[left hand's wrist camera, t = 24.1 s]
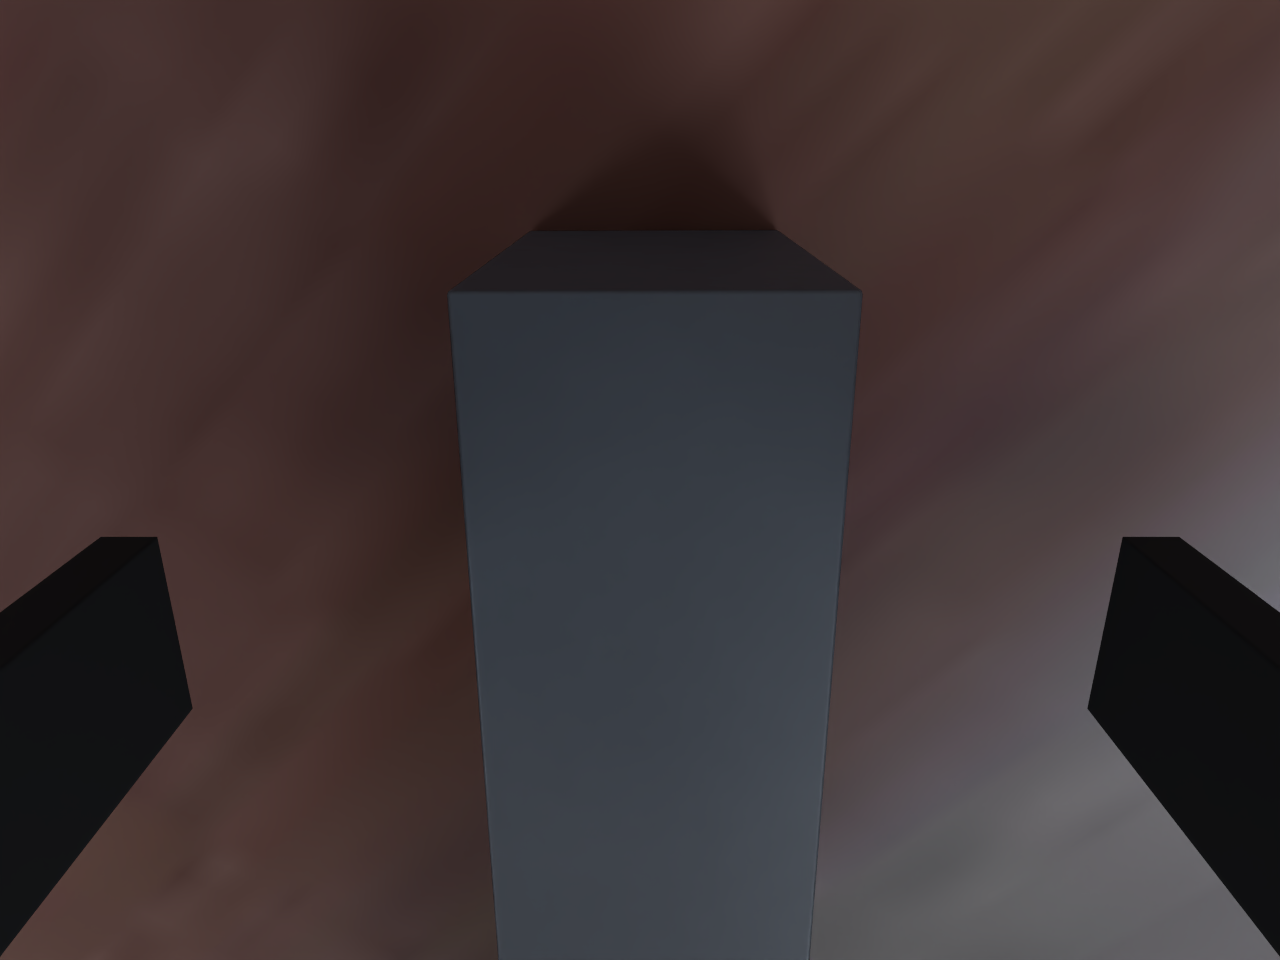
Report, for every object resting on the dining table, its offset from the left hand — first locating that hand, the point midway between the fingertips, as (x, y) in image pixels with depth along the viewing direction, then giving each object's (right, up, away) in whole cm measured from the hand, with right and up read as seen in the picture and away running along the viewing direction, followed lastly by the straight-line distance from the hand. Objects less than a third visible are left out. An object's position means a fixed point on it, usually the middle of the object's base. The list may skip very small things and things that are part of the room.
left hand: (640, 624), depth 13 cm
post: (0, -27, +18) cm, 32 cm away
